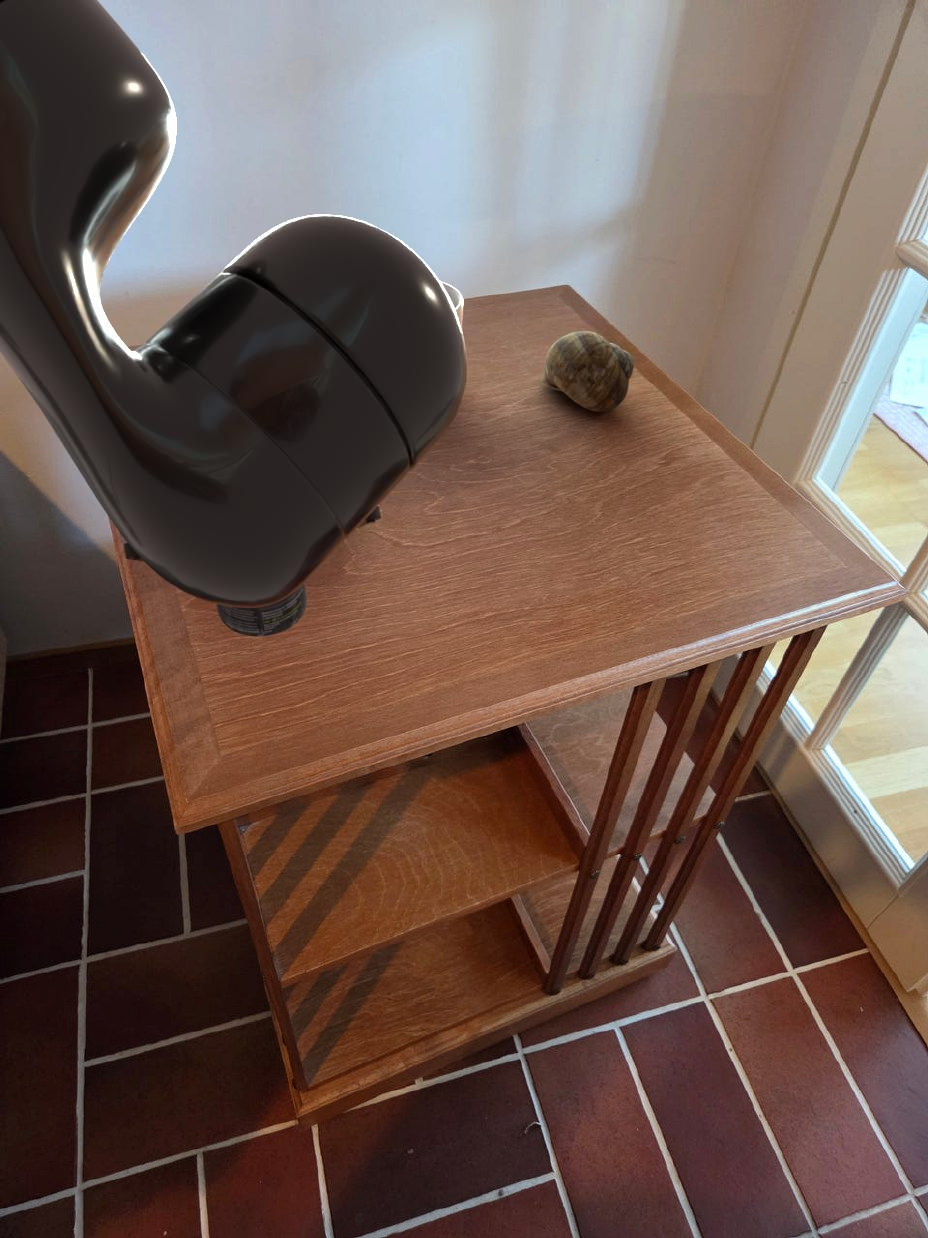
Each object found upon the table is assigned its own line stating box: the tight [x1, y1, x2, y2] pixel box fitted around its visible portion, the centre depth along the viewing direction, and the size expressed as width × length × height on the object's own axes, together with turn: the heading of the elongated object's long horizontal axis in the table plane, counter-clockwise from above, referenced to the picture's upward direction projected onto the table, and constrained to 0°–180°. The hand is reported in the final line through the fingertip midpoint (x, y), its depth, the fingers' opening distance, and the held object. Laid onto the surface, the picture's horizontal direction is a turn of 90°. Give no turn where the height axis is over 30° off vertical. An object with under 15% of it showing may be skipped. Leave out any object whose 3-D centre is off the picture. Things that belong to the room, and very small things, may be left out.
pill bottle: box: [216, 583, 307, 638], centre depth 53 cm, size 6×6×11 cm
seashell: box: [540, 330, 636, 412], centre depth 94 cm, size 11×9×8 cm
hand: (249, 533), depth 54 cm, fingers closed on pill bottle, 6 cm apart
